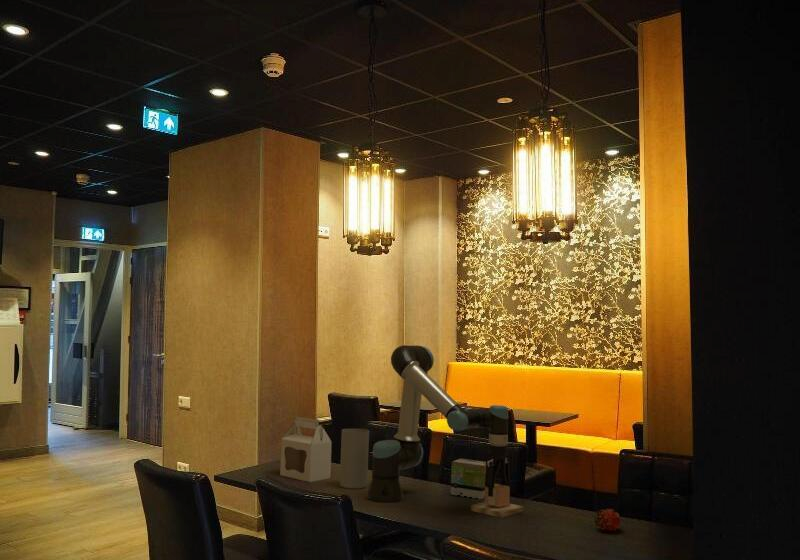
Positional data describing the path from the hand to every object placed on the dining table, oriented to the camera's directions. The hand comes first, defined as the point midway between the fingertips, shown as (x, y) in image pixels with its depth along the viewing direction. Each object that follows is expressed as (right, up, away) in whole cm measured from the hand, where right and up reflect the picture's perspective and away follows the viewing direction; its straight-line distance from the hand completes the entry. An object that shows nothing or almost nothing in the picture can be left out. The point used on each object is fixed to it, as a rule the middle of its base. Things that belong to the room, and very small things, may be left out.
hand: (497, 503), depth 268 cm
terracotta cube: (0, 0, 0) cm, 0 cm away
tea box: (-8, -6, +26) cm, 28 cm away
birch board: (0, -3, 0) cm, 3 cm away
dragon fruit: (+37, -2, -24) cm, 44 cm away
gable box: (-85, -6, +56) cm, 102 cm away
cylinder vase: (-60, -5, +38) cm, 71 cm away
